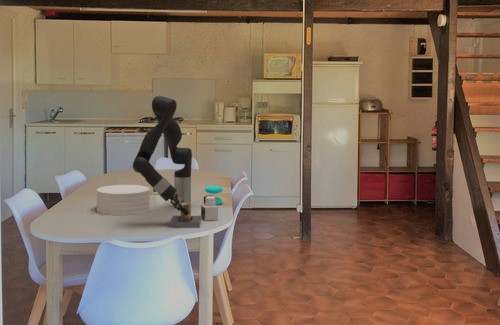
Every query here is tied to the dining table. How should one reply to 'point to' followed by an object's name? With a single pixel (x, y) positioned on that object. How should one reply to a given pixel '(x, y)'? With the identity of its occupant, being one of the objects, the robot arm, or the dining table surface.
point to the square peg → (188, 208)
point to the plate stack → (123, 199)
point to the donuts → (214, 192)
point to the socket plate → (185, 222)
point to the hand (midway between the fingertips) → (188, 212)
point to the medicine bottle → (209, 209)
